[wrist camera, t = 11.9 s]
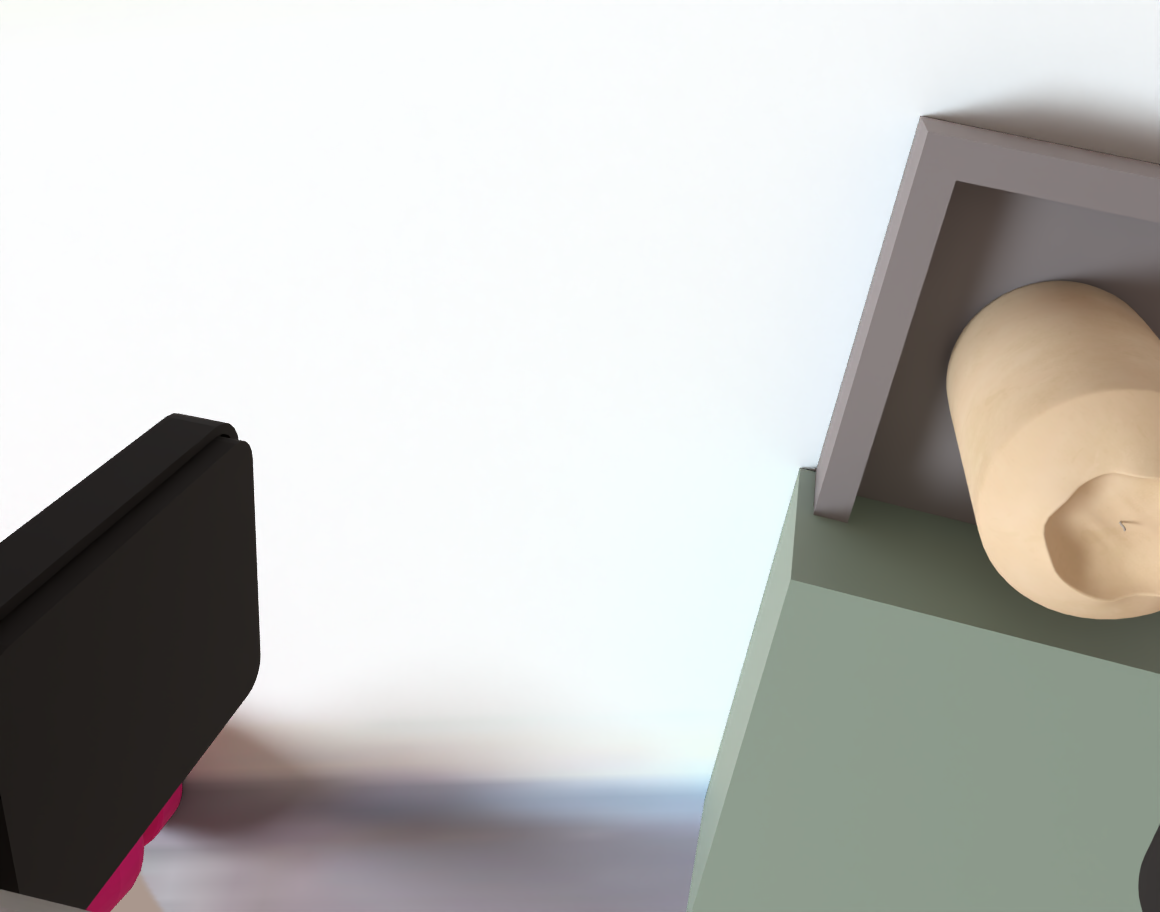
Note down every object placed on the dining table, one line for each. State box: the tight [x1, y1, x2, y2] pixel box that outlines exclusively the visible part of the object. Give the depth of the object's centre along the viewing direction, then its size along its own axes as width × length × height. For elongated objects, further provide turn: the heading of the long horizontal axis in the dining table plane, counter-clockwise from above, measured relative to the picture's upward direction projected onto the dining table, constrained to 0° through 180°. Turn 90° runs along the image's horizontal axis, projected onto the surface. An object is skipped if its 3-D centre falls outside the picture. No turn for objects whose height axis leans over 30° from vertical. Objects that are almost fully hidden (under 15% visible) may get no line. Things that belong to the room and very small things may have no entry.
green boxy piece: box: [686, 116, 1160, 912], centre depth 32 cm, size 25×12×7 cm, turn 170°
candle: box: [946, 281, 1160, 619], centre depth 27 cm, size 6×6×10 cm
